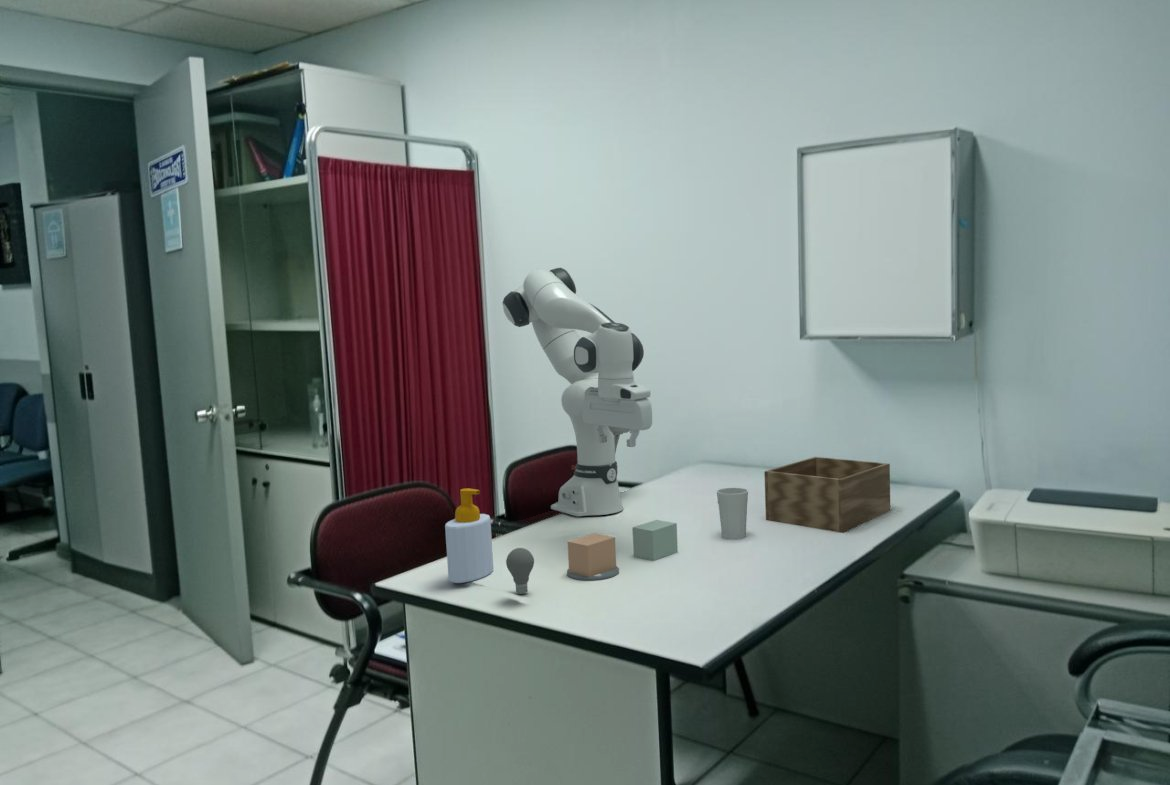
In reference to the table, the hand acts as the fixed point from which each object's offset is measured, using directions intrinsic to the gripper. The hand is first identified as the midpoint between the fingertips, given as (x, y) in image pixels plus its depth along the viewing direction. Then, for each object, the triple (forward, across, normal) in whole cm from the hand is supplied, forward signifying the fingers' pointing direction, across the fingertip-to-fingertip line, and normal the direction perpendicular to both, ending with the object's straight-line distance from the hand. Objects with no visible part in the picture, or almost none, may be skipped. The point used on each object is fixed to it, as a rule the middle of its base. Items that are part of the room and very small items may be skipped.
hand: (616, 444), depth 228 cm
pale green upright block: (+26, +12, +1) cm, 28 cm away
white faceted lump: (+28, -34, +35) cm, 56 cm away
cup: (+26, +18, +24) cm, 40 cm away
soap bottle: (+27, -13, -37) cm, 48 cm away
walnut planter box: (+25, +29, +54) cm, 66 cm away
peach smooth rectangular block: (+25, +9, -19) cm, 33 cm away
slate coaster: (+26, +9, -19) cm, 34 cm away
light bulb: (+26, +7, -39) cm, 48 cm away
